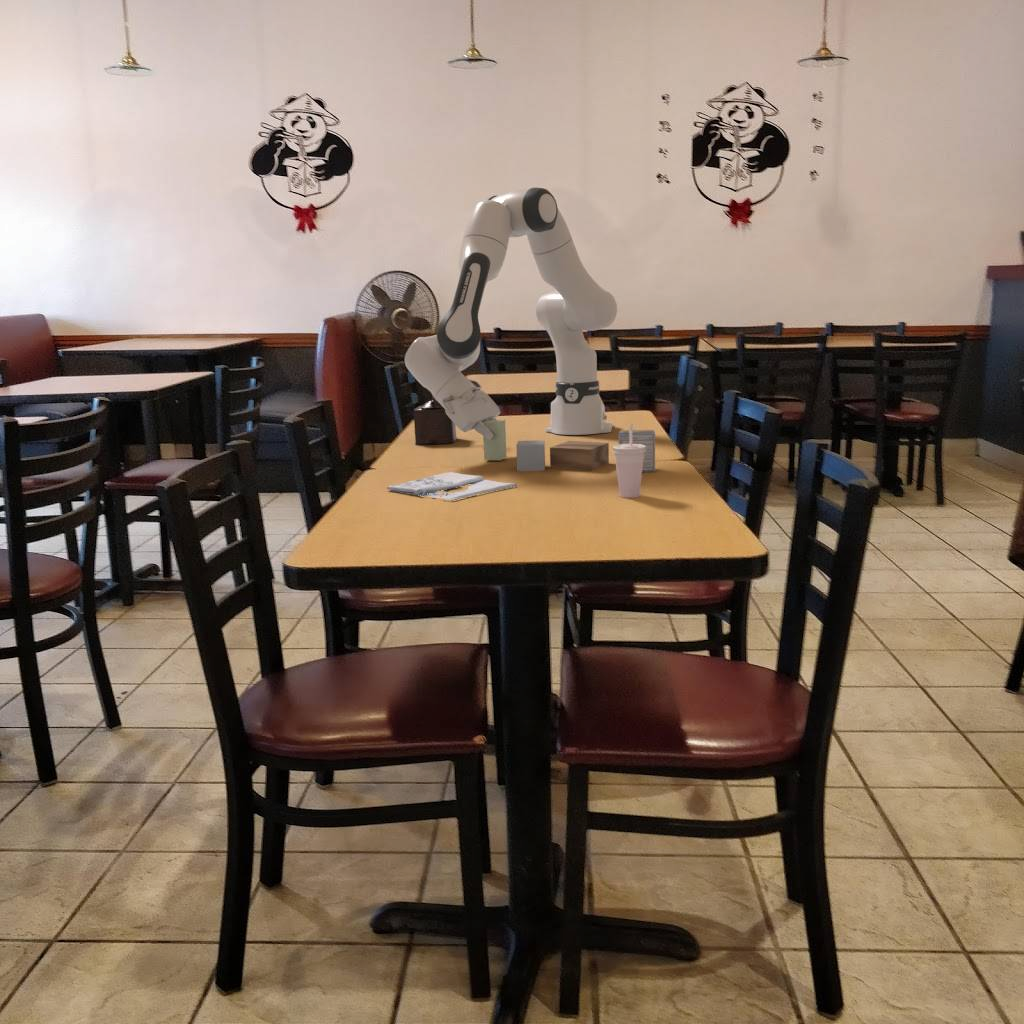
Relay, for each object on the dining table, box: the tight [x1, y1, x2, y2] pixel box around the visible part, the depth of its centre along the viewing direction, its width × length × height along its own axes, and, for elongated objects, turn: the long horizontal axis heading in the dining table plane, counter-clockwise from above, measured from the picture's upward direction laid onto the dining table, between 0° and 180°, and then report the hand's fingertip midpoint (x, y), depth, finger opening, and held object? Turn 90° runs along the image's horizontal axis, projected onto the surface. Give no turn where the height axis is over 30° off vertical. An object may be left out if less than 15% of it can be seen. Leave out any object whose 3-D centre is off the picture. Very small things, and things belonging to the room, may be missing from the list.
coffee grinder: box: [413, 376, 468, 446], centre depth 258 cm, size 16×11×18 cm
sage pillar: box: [482, 419, 507, 461], centre depth 227 cm, size 4×4×9 cm
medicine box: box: [618, 429, 656, 473], centre depth 208 cm, size 8×4×9 cm, turn 84°
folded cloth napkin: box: [386, 471, 517, 501], centre depth 196 cm, size 19×20×2 cm
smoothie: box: [612, 423, 646, 499], centre depth 182 cm, size 6×6×14 cm
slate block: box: [515, 439, 546, 472], centre depth 215 cm, size 6×6×6 cm
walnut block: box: [549, 440, 610, 472], centre depth 217 cm, size 10×10×5 cm
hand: (497, 436), depth 227 cm, fingers closed on sage pillar, 4 cm apart
